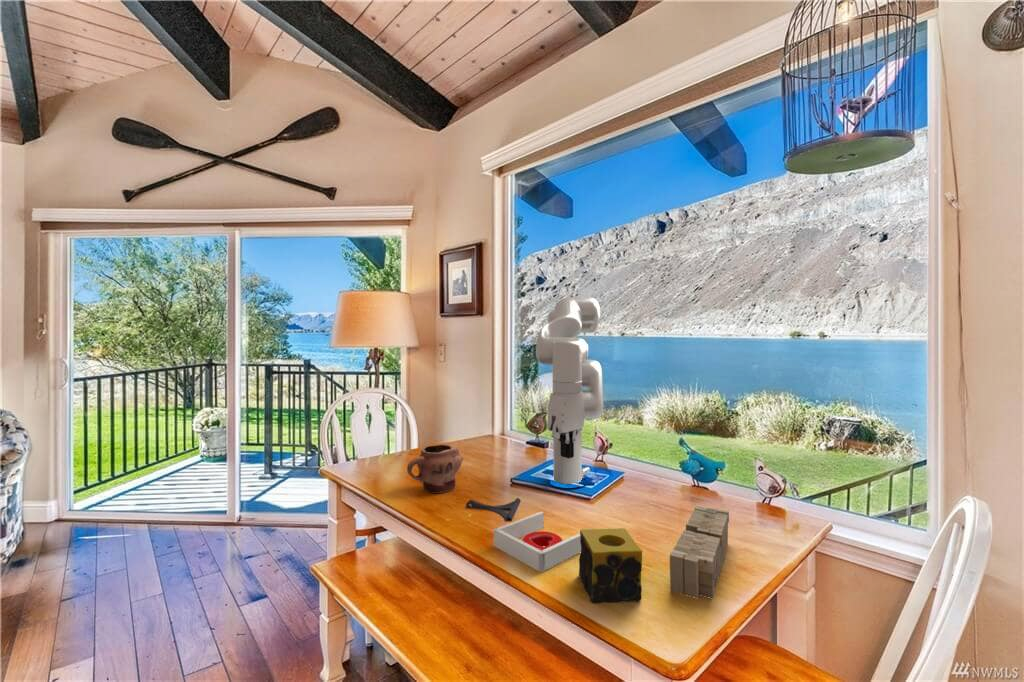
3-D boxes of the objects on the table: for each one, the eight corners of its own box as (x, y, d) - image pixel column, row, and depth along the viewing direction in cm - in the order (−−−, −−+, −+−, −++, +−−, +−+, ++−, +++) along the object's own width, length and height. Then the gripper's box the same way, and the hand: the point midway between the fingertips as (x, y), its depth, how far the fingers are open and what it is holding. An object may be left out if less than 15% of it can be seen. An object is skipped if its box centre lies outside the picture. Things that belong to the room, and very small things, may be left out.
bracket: (473, 500, 139) (473, 491, 139) (520, 503, 136) (520, 494, 136) (459, 519, 124) (459, 509, 124) (511, 523, 122) (511, 513, 122)
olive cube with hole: (578, 575, 94) (578, 528, 94) (625, 573, 95) (625, 526, 95) (590, 605, 84) (590, 552, 84) (642, 602, 85) (643, 550, 85)
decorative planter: (420, 503, 134) (420, 457, 134) (398, 493, 142) (398, 450, 142) (471, 487, 149) (471, 445, 148) (448, 478, 157) (448, 439, 157)
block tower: (711, 609, 85) (730, 542, 109) (711, 565, 84) (730, 508, 109) (668, 596, 89) (695, 534, 114) (668, 554, 88) (696, 502, 113)
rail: (540, 526, 118) (540, 511, 118) (589, 548, 106) (589, 531, 106) (493, 546, 108) (493, 529, 107) (541, 572, 96) (541, 554, 95)
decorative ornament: (520, 544, 109) (520, 531, 109) (559, 543, 110) (559, 530, 110) (523, 564, 100) (523, 550, 99) (566, 563, 100) (566, 549, 100)
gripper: (574, 382, 124) (574, 447, 126) (536, 389, 114) (536, 459, 116) (596, 385, 119) (596, 453, 120) (558, 393, 109) (558, 467, 110)
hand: (567, 456), depth 118 cm, fingers closed
